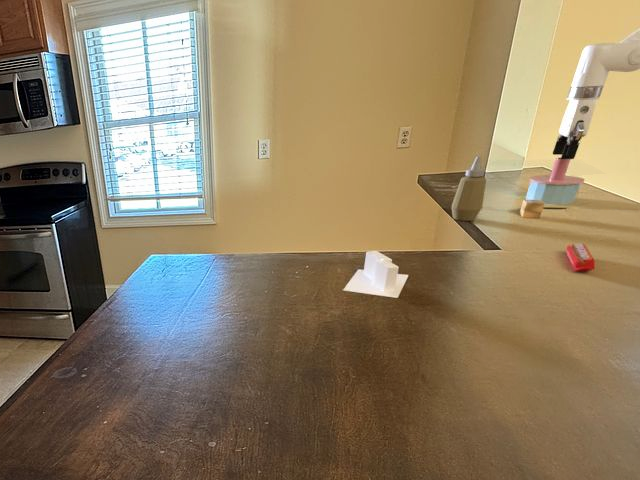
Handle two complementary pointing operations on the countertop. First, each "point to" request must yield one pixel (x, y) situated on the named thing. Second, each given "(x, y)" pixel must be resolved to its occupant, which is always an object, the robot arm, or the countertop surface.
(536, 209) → the block
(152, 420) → the countertop surface
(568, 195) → the bowl
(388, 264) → the white building model
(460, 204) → the squeeze bottle
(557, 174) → the pink peg stand
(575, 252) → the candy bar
